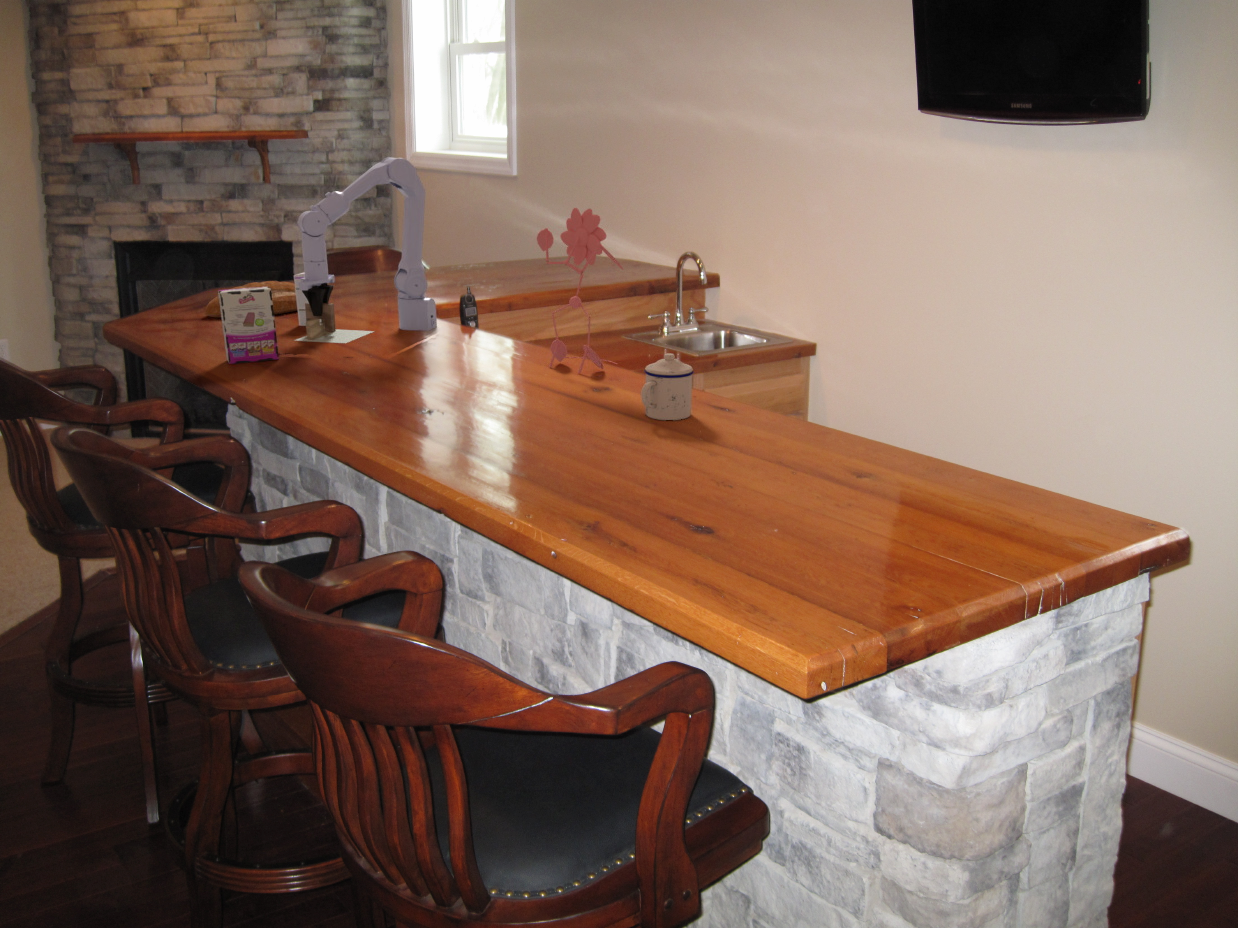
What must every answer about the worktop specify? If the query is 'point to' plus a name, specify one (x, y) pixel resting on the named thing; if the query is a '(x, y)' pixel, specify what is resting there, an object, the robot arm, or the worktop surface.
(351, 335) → the board
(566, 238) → the figurine
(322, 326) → the wooden u-shaped block
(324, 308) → the wooden c-clamp shape
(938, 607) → the worktop surface
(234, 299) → the candy bar box
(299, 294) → the syrup box
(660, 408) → the teacup with lid
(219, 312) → the bread
